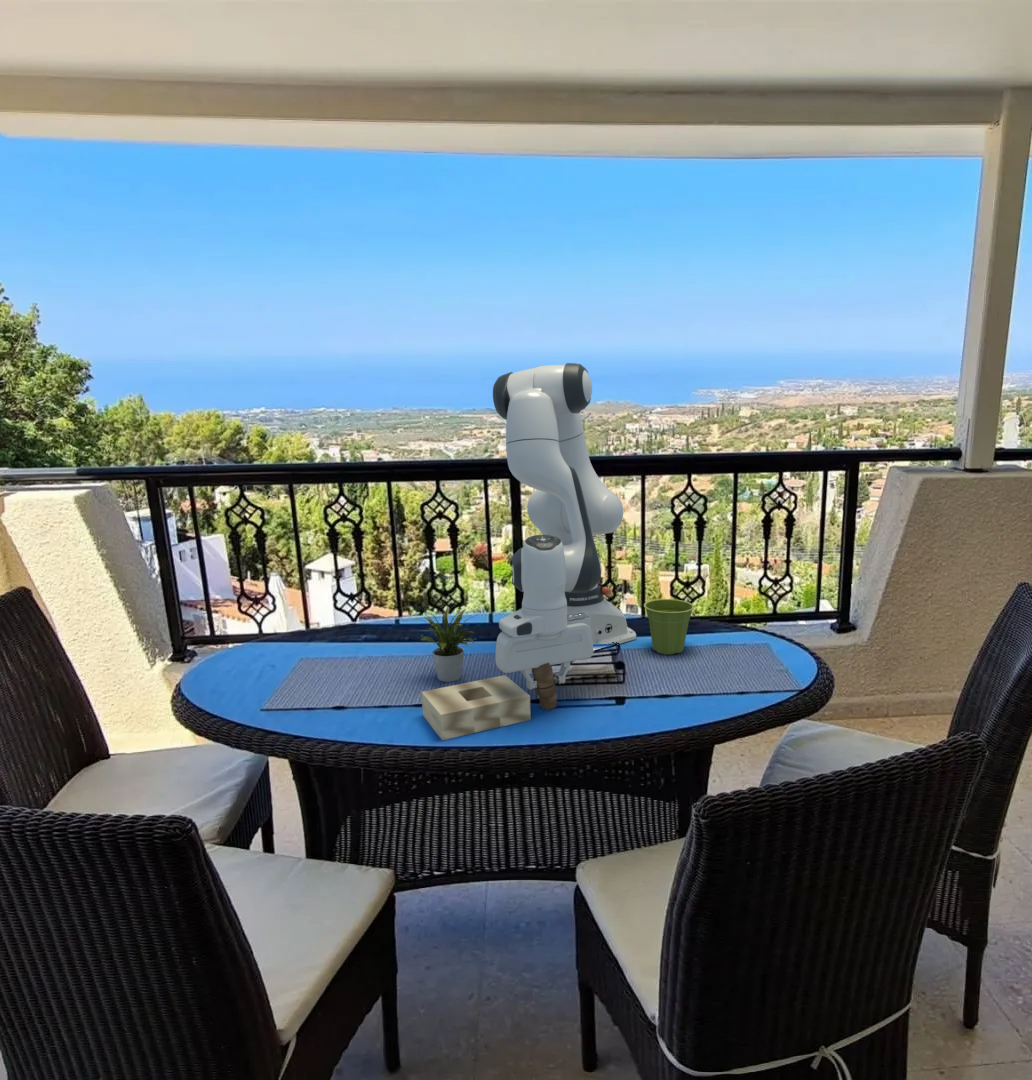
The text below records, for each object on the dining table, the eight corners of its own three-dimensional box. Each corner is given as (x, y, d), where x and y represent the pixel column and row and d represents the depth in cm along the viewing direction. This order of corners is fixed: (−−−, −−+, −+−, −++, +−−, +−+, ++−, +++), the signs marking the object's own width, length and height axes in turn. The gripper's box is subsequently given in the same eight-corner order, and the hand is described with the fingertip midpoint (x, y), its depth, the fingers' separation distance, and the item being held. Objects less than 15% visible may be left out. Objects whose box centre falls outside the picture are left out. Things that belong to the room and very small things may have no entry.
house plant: (417, 695, 154) (412, 621, 151) (408, 672, 168) (404, 604, 164) (482, 686, 158) (479, 613, 155) (469, 664, 171) (466, 597, 168)
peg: (552, 697, 149) (544, 653, 146) (563, 705, 146) (554, 660, 143) (535, 705, 148) (526, 661, 145) (545, 713, 144) (536, 668, 141)
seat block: (505, 697, 152) (505, 675, 151) (530, 719, 141) (529, 695, 140) (422, 715, 145) (421, 691, 144) (442, 740, 134) (440, 714, 133)
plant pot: (698, 658, 170) (699, 611, 168) (647, 659, 171) (647, 613, 168) (688, 641, 182) (688, 597, 180) (640, 642, 182) (640, 599, 180)
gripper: (583, 608, 150) (584, 672, 152) (491, 621, 142) (493, 689, 144) (599, 615, 144) (599, 681, 147) (503, 630, 136) (505, 700, 138)
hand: (546, 685), depth 145 cm, fingers open, 5 cm apart
